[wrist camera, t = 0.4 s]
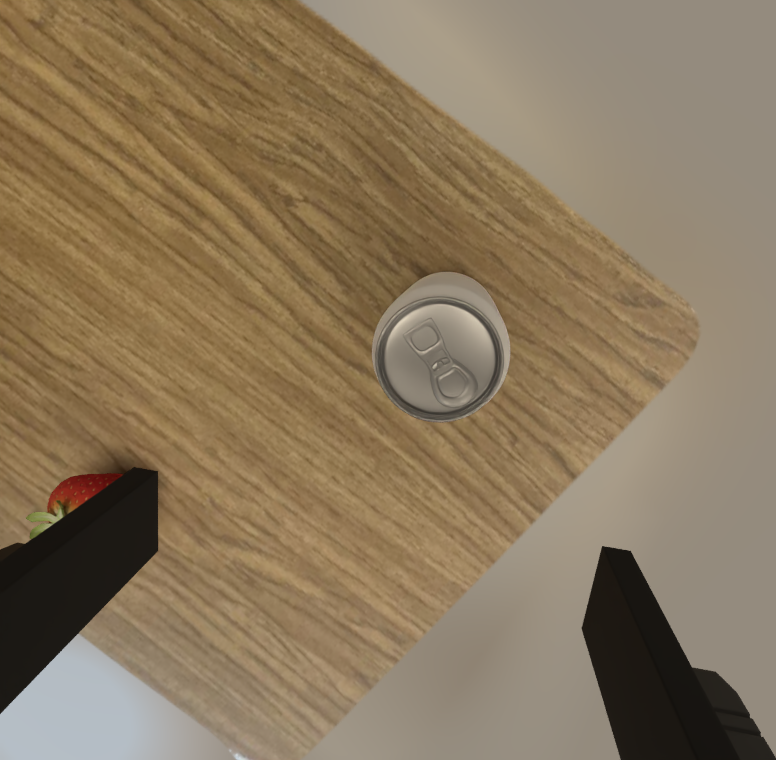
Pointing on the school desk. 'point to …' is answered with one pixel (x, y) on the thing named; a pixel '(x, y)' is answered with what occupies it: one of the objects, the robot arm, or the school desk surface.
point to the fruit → (70, 498)
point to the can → (441, 348)
